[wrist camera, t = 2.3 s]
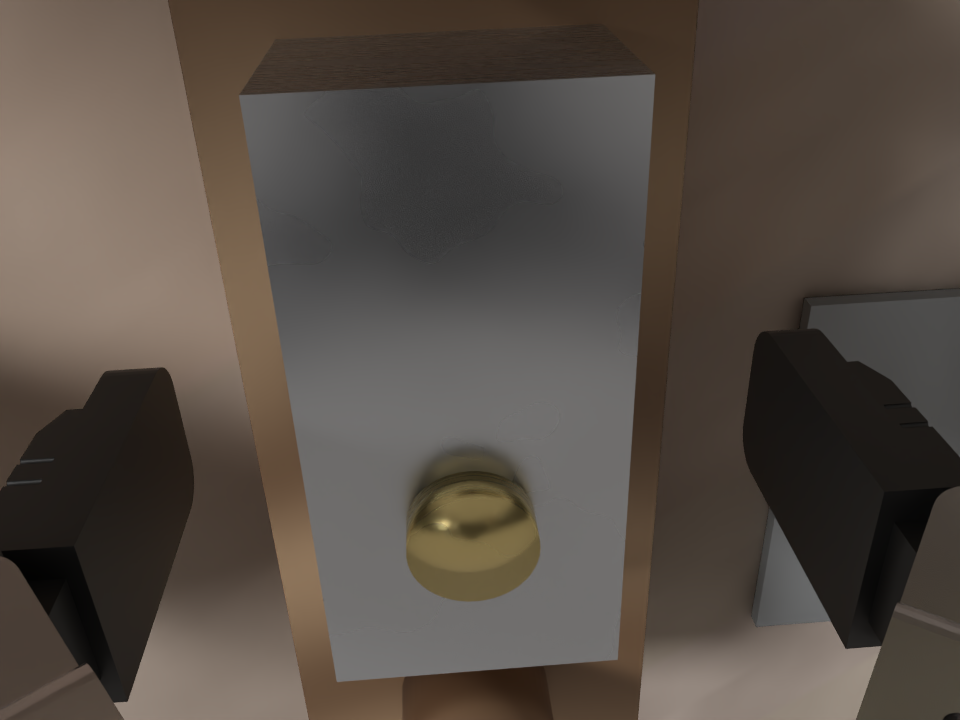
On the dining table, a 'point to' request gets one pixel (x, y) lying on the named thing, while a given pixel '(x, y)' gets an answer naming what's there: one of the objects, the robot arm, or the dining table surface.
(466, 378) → the lever cap
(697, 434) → the dining table surface
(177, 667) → the dining table surface
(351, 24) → the plane body
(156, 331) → the dining table surface
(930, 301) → the mat
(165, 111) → the dining table surface
